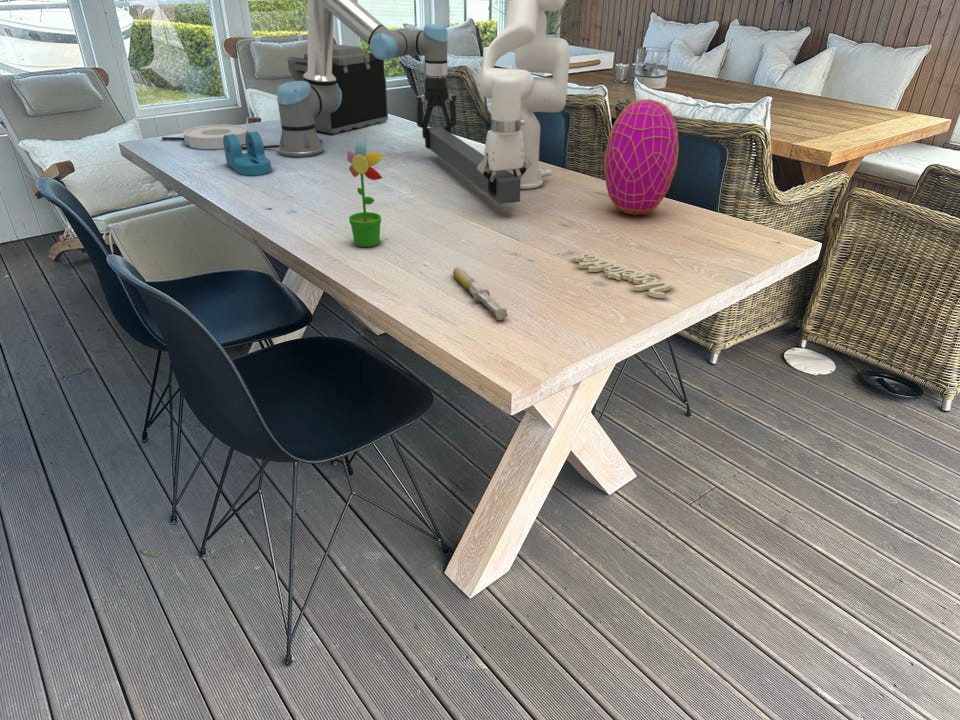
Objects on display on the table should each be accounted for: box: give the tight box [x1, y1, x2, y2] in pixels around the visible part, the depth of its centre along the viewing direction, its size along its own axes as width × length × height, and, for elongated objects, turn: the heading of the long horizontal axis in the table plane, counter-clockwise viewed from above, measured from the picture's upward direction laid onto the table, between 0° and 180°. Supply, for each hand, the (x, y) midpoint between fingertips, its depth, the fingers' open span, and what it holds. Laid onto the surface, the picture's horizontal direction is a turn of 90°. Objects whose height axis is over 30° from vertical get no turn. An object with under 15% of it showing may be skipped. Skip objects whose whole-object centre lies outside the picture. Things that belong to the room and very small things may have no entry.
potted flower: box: [346, 138, 383, 248], centre depth 165 cm, size 9×8×25 cm
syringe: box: [452, 266, 509, 321], centre depth 145 cm, size 25×4×3 cm, turn 21°
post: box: [427, 126, 521, 205], centre depth 213 cm, size 72×6×6 cm, turn 20°
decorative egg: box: [603, 98, 680, 215], centre depth 186 cm, size 19×19×30 cm
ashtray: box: [182, 123, 249, 150], centre depth 260 cm, size 23×23×4 cm
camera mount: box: [223, 131, 272, 176], centre depth 226 cm, size 18×10×10 cm, turn 35°
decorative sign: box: [574, 252, 671, 299], centre depth 155 cm, size 26×1×10 cm
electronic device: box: [287, 43, 389, 135], centre depth 281 cm, size 37×22×30 cm, turn 144°
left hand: (436, 146), depth 240 cm, fingers closed on post, 6 cm apart
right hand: (503, 192), depth 188 cm, fingers closed on post, 6 cm apart
